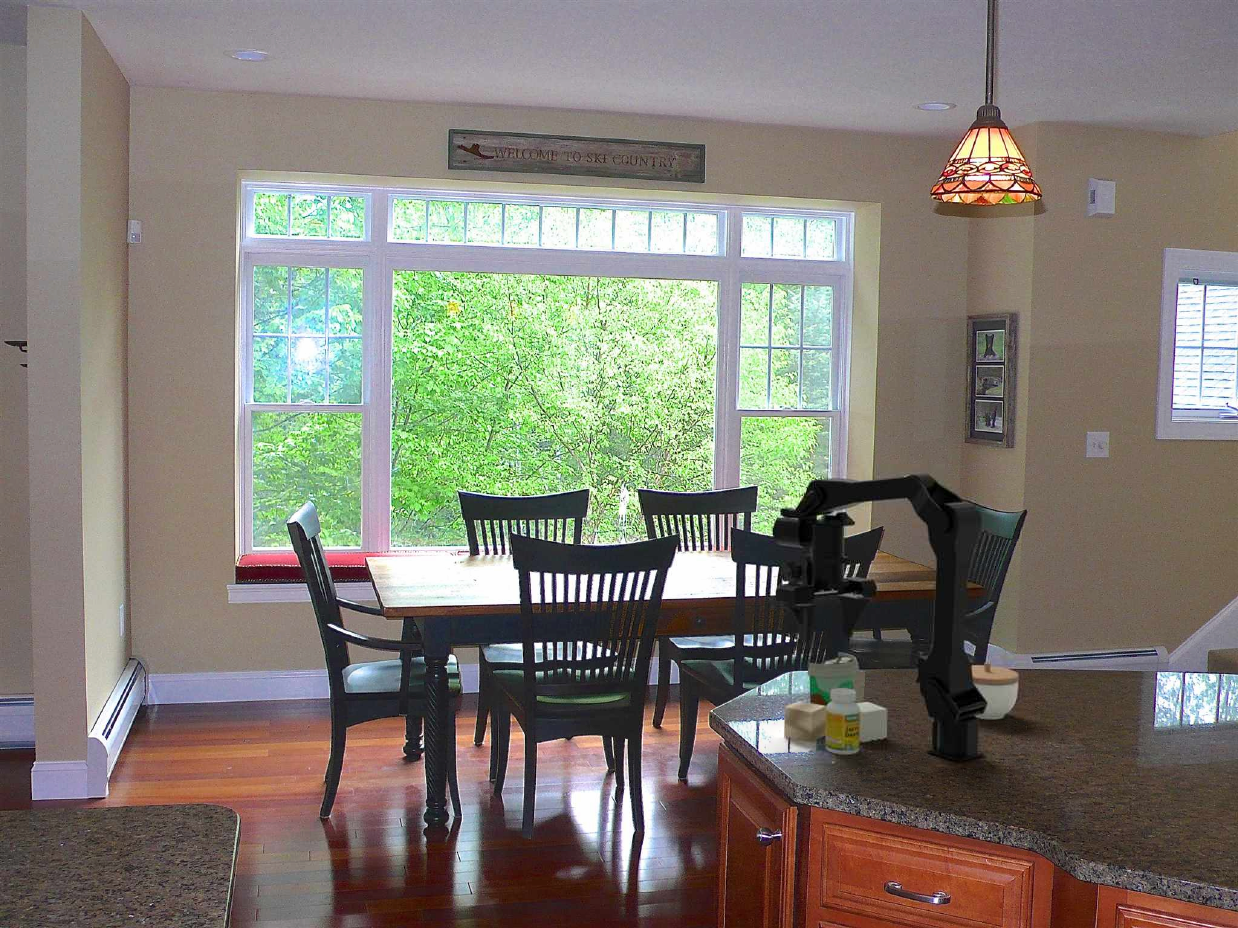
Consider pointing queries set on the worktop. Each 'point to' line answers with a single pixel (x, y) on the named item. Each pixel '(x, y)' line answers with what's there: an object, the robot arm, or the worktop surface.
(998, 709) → the lidded jar
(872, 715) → the white cube
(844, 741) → the supplement bottle
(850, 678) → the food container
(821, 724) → the maple block
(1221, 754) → the worktop surface
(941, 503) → the robot arm
